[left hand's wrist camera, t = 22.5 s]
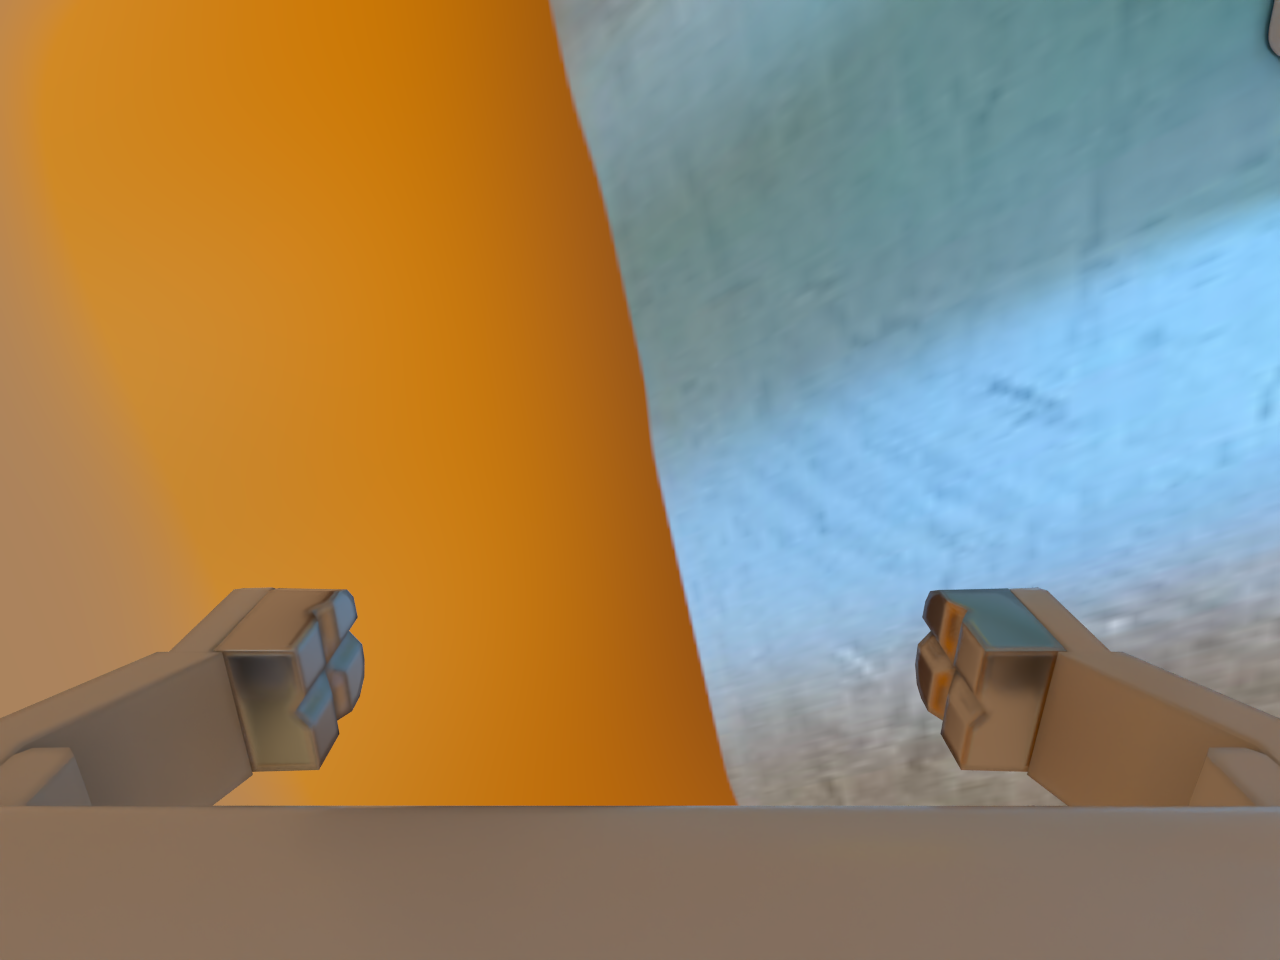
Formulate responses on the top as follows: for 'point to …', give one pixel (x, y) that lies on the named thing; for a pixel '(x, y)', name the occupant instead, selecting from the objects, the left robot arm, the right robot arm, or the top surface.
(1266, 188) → the top surface
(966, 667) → the left robot arm
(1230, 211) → the top surface
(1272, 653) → the top surface
